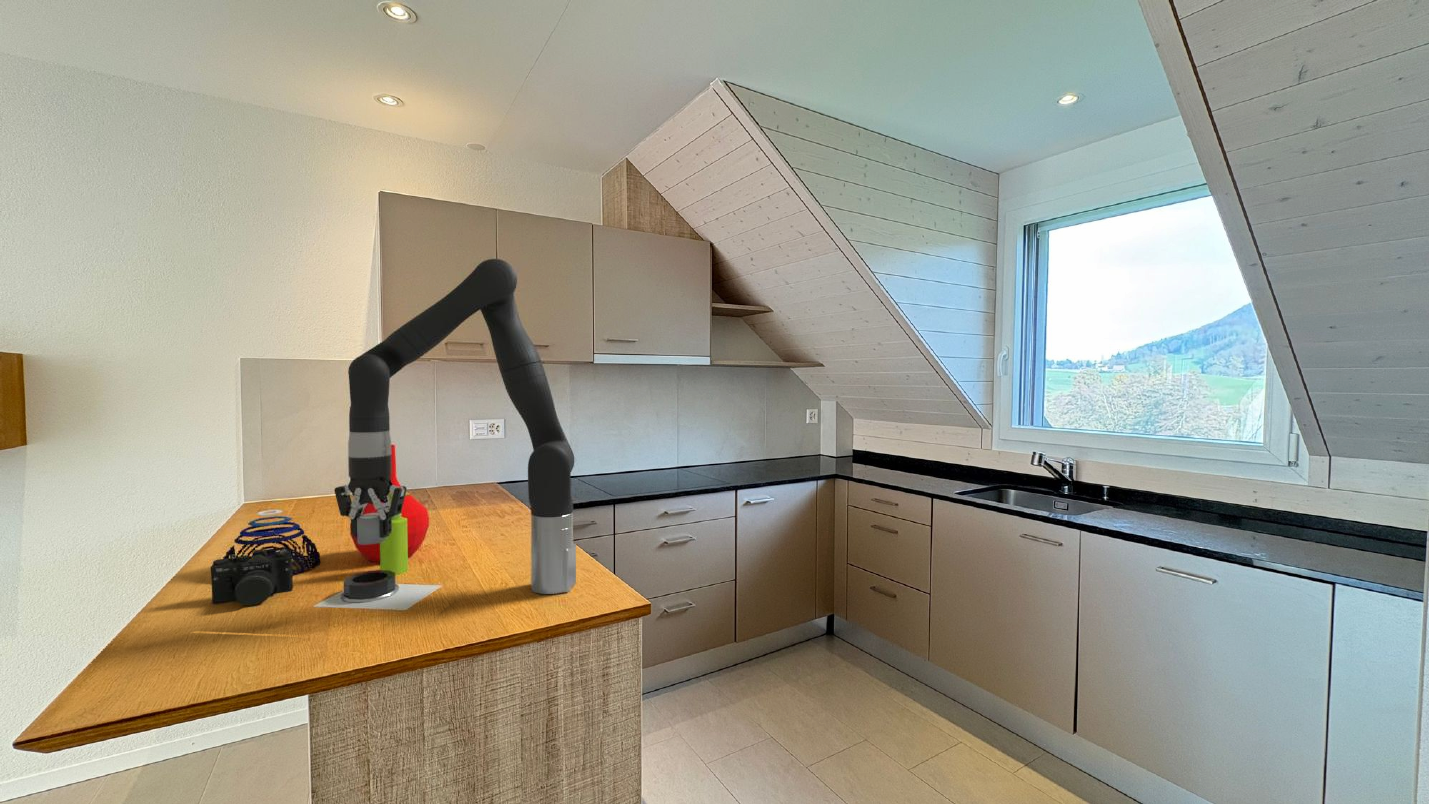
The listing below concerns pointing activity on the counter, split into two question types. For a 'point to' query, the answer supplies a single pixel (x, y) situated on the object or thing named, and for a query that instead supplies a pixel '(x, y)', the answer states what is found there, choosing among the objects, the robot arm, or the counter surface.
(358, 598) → the black faceted bowl
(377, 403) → the robot arm
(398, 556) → the soap dispenser
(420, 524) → the vase
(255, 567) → the camera
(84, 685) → the counter surface
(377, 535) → the cap
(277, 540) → the decorative bowl
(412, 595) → the mat
